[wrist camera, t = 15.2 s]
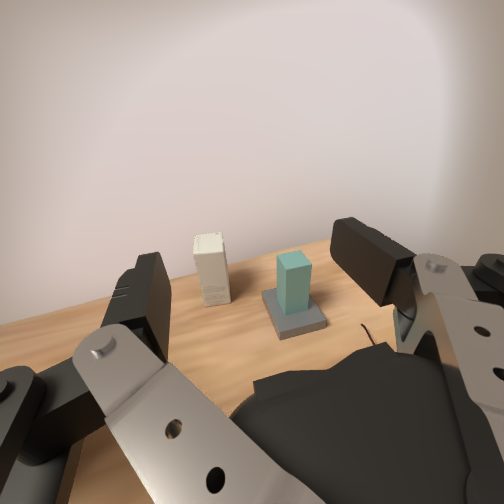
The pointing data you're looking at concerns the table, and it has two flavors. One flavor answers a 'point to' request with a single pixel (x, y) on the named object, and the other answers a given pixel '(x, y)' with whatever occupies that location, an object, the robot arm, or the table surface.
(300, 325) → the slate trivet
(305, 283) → the teal block
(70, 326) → the table surface
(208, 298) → the skincare box
